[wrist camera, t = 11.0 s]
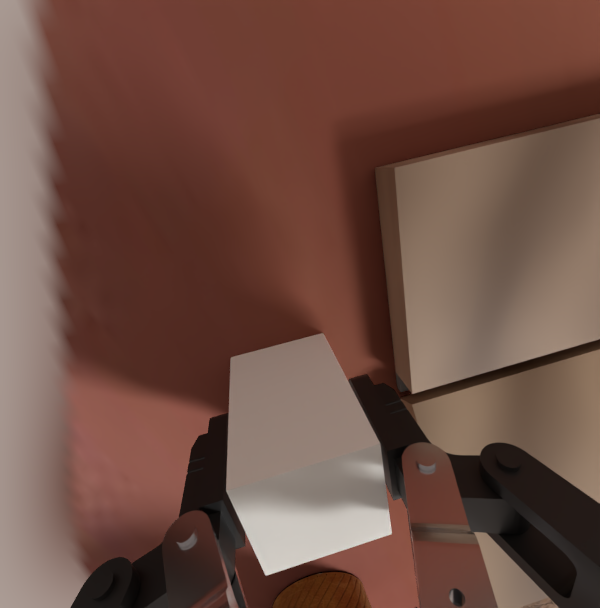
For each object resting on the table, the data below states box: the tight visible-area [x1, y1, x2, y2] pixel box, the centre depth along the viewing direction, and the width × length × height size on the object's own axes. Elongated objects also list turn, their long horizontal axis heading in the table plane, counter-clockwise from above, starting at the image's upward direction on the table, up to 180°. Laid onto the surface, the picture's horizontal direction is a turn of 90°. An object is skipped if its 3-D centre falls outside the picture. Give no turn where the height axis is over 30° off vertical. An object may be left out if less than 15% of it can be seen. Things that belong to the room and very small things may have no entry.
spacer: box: [226, 333, 392, 576], centre depth 11 cm, size 4×4×6 cm
